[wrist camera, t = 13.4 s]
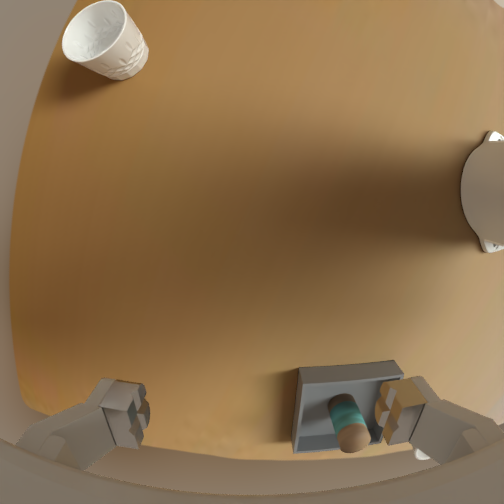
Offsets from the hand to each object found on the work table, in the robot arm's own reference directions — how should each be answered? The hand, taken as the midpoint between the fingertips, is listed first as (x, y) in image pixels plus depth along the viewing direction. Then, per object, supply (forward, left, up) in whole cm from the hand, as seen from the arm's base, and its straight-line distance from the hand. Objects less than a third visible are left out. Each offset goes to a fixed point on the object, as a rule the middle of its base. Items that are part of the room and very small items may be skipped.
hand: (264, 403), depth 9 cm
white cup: (+17, -24, -29) cm, 42 cm away
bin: (-14, +26, -29) cm, 41 cm away
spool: (-14, +26, -29) cm, 41 cm away
